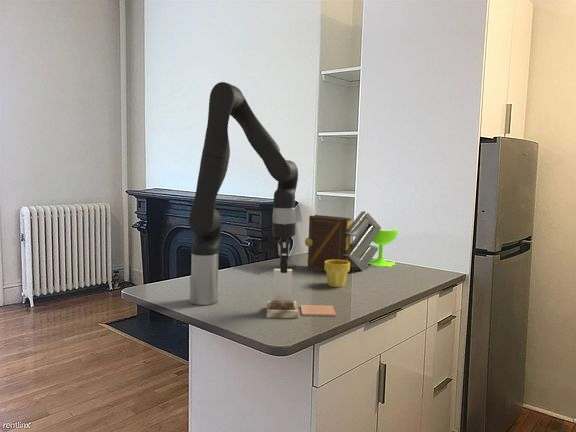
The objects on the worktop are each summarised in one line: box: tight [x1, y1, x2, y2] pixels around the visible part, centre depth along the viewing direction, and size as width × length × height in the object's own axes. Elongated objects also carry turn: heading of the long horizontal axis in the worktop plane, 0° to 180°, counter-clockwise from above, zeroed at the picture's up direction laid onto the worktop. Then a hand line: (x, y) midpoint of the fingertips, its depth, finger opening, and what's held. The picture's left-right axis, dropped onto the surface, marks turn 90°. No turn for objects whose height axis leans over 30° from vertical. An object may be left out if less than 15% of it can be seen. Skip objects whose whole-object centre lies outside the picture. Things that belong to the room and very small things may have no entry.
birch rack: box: [266, 300, 299, 319], centre depth 161 cm, size 10×11×2 cm
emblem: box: [343, 210, 382, 272], centre depth 228 cm, size 28×5×28 cm, turn 141°
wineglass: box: [369, 228, 399, 267], centre depth 245 cm, size 16×16×18 cm
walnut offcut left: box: [270, 300, 282, 310], centre depth 159 cm, size 3×2×4 cm
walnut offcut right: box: [283, 300, 294, 310], centre depth 159 cm, size 3×2×4 cm
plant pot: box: [325, 260, 351, 288], centre depth 200 cm, size 10×10×10 cm
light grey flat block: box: [272, 268, 293, 305], centre depth 163 cm, size 6×2×13 cm, turn 92°
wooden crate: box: [304, 214, 352, 273], centre depth 228 cm, size 22×8×25 cm, turn 58°
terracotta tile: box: [300, 304, 337, 317], centre depth 164 cm, size 11×10×1 cm
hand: (283, 270), depth 163 cm, fingers open, 8 cm apart
